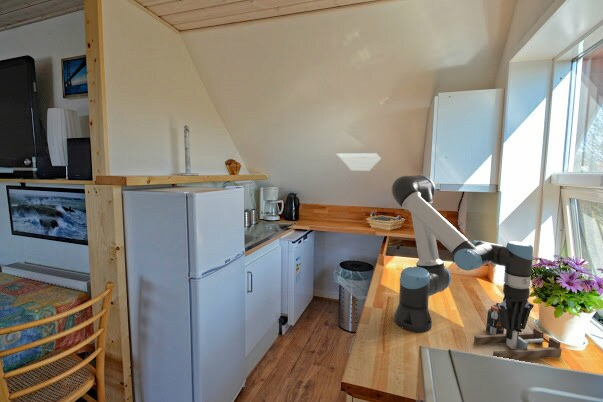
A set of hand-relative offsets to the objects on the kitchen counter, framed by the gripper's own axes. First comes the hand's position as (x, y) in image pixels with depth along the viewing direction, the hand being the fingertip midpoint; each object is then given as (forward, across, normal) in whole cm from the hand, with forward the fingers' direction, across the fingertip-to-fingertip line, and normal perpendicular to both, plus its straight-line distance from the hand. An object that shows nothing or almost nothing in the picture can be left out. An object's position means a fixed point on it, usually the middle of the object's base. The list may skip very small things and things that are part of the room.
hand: (511, 346), depth 103 cm
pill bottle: (+2, +3, +11) cm, 12 cm away
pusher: (+1, +7, 0) cm, 8 cm away
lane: (+2, +2, 0) cm, 3 cm away
